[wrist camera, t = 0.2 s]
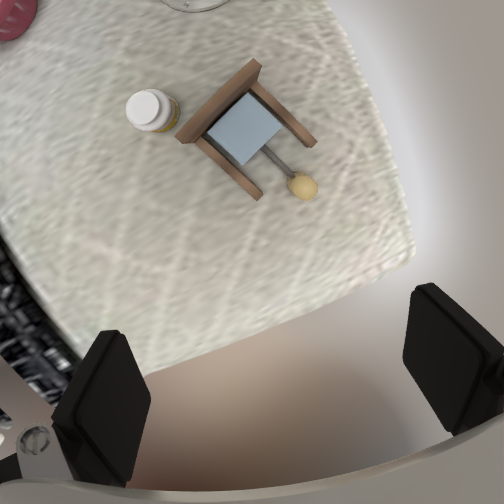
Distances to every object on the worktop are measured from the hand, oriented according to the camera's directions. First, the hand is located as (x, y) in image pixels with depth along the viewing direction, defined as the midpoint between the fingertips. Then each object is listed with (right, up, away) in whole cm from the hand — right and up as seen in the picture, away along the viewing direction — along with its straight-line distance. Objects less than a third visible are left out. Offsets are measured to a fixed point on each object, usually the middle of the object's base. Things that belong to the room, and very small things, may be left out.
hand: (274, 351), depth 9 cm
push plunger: (+1, +17, +32) cm, 36 cm away
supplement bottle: (-13, +22, +30) cm, 40 cm away
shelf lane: (0, +19, +32) cm, 37 cm away
